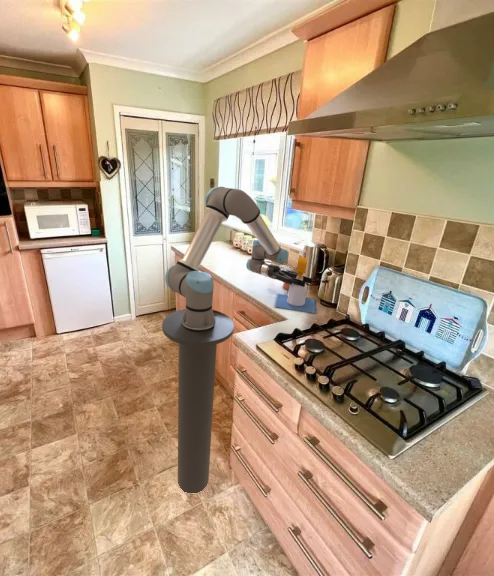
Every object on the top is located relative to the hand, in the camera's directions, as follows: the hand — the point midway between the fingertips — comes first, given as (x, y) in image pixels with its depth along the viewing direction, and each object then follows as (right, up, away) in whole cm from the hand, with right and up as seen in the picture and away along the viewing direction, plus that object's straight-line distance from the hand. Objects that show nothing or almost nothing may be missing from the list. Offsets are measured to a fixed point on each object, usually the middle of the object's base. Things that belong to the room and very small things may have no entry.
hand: (308, 282), depth 153 cm
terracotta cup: (-3, -3, +29) cm, 29 cm away
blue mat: (-4, -11, +8) cm, 14 cm away
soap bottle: (-4, -11, +8) cm, 14 cm away
